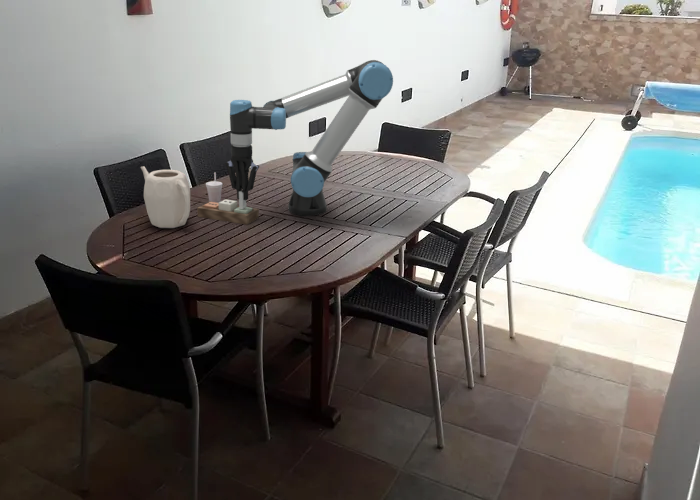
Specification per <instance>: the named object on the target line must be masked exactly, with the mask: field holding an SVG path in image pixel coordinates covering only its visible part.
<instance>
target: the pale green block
mask: <svg viewBox="0 0 700 500" xmlns="http://www.w3.org/2000/svg"><path fill="white" fill-rule="evenodd" d="M253 208H254V207H249V206H246V208H244V209H239V207H238V208H236V209H234V212H236V213H243V214H248V213H249V212H251V211H253Z"/></svg>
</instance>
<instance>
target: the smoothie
mask: <svg viewBox="0 0 700 500" xmlns="http://www.w3.org/2000/svg"><path fill="white" fill-rule="evenodd" d="M213 174H214V175H213V176H214V177H213V178H214V180H213V181H208V182H206V183H205V187H206V190H207V191H206V192H207V195H208V202H210V201H211V202H217V203H219V202H221V201H222V200H221V199H222V189H223V185H224V184H223V182H221V181H217V173H216V172H214V173H213Z"/></svg>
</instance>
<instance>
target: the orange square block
mask: <svg viewBox="0 0 700 500" xmlns="http://www.w3.org/2000/svg"><path fill="white" fill-rule="evenodd" d="M208 202H209V201H208ZM208 202H206V203H207V204H206V203H205V205H204V204H203V205H204V207H205V208H211V209H217V208H219V205H218V203H216V202H209V203H208Z"/></svg>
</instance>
